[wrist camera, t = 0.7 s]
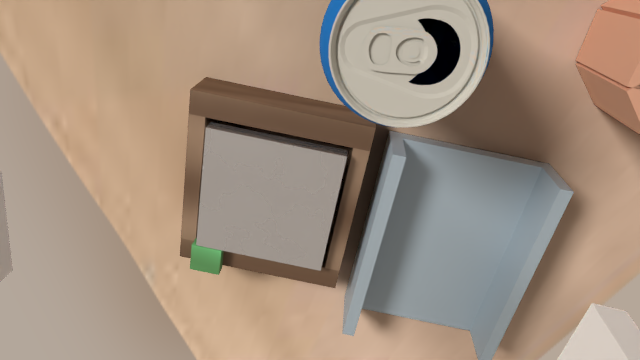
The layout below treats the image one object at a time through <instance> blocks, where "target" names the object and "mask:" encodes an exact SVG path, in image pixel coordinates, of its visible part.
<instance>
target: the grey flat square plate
mask: <svg viewBox="0 0 640 360" xmlns="http://www.w3.org/2000/svg"><path fill="white" fill-rule="evenodd" d="M347 152H348V150H344V149H339V148H334V147H329V146H324V145H320V144H315V143H310V142H305V141H300V140H296V139H291V138H286V137H281V136H276V135H271V134H267V133H262V132H257V131H252V130H247V129H243V128H238V127H233V126H228V125H223V124H218V123H214V122H210V123H209V125H208V126H207V127H206V131H205V143H204V156H203V168H202V180H201V192H200V205H199V217H198V229H197V242H196V245H198V246H203V247H207V248H212V249H217V250H222V251H227V252H232V253H236V254H241V255H246V256H251V257H256V258H261V259H266V260H270V261H275V262H280V263H285V264H290V265H295V266H299V267H304V268H309V269H314V270H319V271H321V267H322V262H323V258H324V254H325V250H326V245H327V241H328V237H329V232H330V228H331V224H332V220H333V215H334V211H335V207H336V202H337V198H338V194H339V189H340V185H341V181H342V177H343V172H344V168H345V164H346V159H347Z"/></svg>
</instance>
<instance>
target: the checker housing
mask: <svg viewBox="0 0 640 360" xmlns="http://www.w3.org/2000/svg"><path fill="white" fill-rule="evenodd" d="M218 120H221V121H226V122H231V123H236V124H240V125H245V126H250V127H255V128H260V129H264V130H269V131H274V132H279V133H284V134H289V135H293V136H298V137H303V138H308V139H313V140H317V141H322V142H327V143H332V144H337V145H342V146H346V147H351V148H350V152H349V157H348V161H347V165H346V169H345V174H344V178H343V182H342V187H341V191H340V195H339V199H338V204H337V208H336V212H335V216H334V221H333V225H332V229H331V234H330V238H329V242H328V243H327V245H326V250H325V254H324V258H323V262H322V267H321V271H319V270H314V269H309V268H304V267H299V266H295V265H290V264H285V263H280V262H275V261H270V260H266V259H261V258H256V257H251V256H246V255H241V254H236V253H232V252H227V251H222V250H217V249H212V248H207V247H203V246H198V245H196V242H197V229H198V217H199V205H200V192H201V180H202V168H203V156H204V143H205V131H206V127H207V126H208V125H209V123H210V122H214V123H218ZM375 130H376V123H373V122H370V121H368V120H366V119H363V118H362V117H360V116H358V115H357V114H355V113H354V112H353V111H351V110H350V109H349V108H347V107H346V106H342V105H337V104H333V103H328V102H323V101H318V100H313V99H309V98H304V97H299V96H294V95H289V94H285V93H280V92H275V91H270V90H265V89H261V88H256V87H251V86H246V85H241V84H236V83H232V82H227V81H222V80H217V79H212V78H208V77H206V78H204V79H203V80H202V81H201V82H199V83H198V84H197V85H196V86H194V87H193V88H192V89H190V104H189V120H188V136H187V151H186V167H185V183H184V199H183V215H182V230H181V246H180V256H182V257H187V258H191V261H190V269H193V270H198V271H203V272H208V273H213V274H218V275H219V273H220V271H221V269H222V265H226V266H231V267H235V268H240V269H245V270H250V271H255V272H260V273H265V274H269V275H274V276H279V277H284V278H289V279H294V280H299V281H303V282H308V283H313V284H318V285H323V286H328V287H332V288H335V286H336V283H337V279H338V275H339V271H340V267H341V263H342V259H343V255H344V251H345V247H346V243H347V239H348V236H349V232H350V228H351V224H352V220H353V216H354V212H355V208H356V204H357V200H358V196H359V192H360V189H361V185H362V181H363V177H364V173H365V169H366V165H367V161H368V157H369V153H370V149H371V145H372V142H373V138H374V134H375Z"/></svg>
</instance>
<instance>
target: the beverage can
mask: <svg viewBox="0 0 640 360" xmlns="http://www.w3.org/2000/svg"><path fill="white" fill-rule="evenodd" d="M493 32H494V30H493V20H492V15H491V11H490V7H489V5H488V2H487V0H331V2H330V4H329V6H328V8H327V11H326V13H325V16H324V19H323V23H322V27H321V34H320V55H321V62H322V66H323V70H324V73H325V76H326V78H327V81H328V83H329V85H330V86H331V88H332V90H333V91H334V93H335V94H336V95H337V97H338V98H339V99H340V100H341V102H342V103H343V104H344V105H345V106H346V107H347V108H349V109H350V110H351V111H353V112H354V113H355V114H357V115H358V116H360V117H362V118H363V119H366V120H368V121H370V122H373V123H376V124H379V125H383V126H388V127H398V128H410V127H418V126H423V125H427V124H430V123H433V122H436V121H438V120H440V119H442V118H444V117H446V116H447V115H449V114H451V113H452V112H454V111H455V110H456V109H457V108H459V107H460V106H461V105H462V104H463V103H464V102H465V101H466V100H467V99H468V98H469V97H470V96H471V94H472V93H473V92H474V90H475V89H476V87H477V86H478V84H479V83H480V81H481V79H482V78H483V76H484V74H485V71H486V69H487V67H488V64H489V60H490V57H491V53H492V47H493Z"/></svg>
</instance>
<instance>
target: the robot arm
mask: <svg viewBox="0 0 640 360" xmlns="http://www.w3.org/2000/svg"><path fill="white" fill-rule="evenodd" d="M12 270H13V269H12V261H11V252H10V243H9V234H8V226H7V217H6V208H5V200H4V191H3V182H2V173H1V170H0V281H2V280H3V279H4V278H5V277H6V276H7V275H8V274H9V273H10V272H11V271H12ZM557 360H640V330H639V328H638V327H637V325H636V324H635V323H634V321H633V320H632V319H631V317H630V316H629V314H628V313H627V312H626V311H625V310H621V309H616V308H612V307H608V306H603V305H599V304H594V303H592V304H591V305H590V307H589V309H588V310H587V312H586V314H585V315H584V317H583V318H582V320H581V322H580V323H579V325H578V326H577V328H576V330H575V331H574V333H573V335H572V336H571V338H570V339H569V341H568V343H567V344H566V346H565V348H564V349H563V351H562V352H561V354H560V356H559V357H558V359H557Z"/></svg>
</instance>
